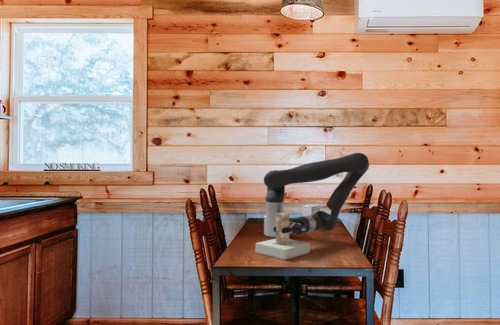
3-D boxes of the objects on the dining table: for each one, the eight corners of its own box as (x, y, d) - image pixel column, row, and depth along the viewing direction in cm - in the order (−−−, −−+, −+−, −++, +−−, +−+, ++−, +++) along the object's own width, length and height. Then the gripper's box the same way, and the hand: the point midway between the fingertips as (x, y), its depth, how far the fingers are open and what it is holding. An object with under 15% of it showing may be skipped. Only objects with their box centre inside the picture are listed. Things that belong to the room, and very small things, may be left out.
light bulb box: (310, 220, 236) (310, 203, 236) (320, 222, 232) (320, 204, 232) (301, 223, 228) (302, 205, 228) (311, 224, 224) (311, 206, 224)
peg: (275, 249, 156) (275, 213, 156) (282, 247, 159) (282, 212, 159) (283, 251, 153) (283, 214, 153) (289, 249, 156) (289, 213, 156)
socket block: (255, 252, 156) (255, 243, 156) (280, 246, 167) (280, 237, 167) (284, 260, 145) (284, 249, 145) (309, 252, 156) (309, 243, 156)
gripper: (291, 214, 171) (265, 219, 159) (316, 218, 161) (291, 223, 149) (291, 231, 171) (265, 236, 159) (316, 235, 161) (291, 242, 149)
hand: (278, 230), depth 154 cm, fingers closed on peg, 4 cm apart
